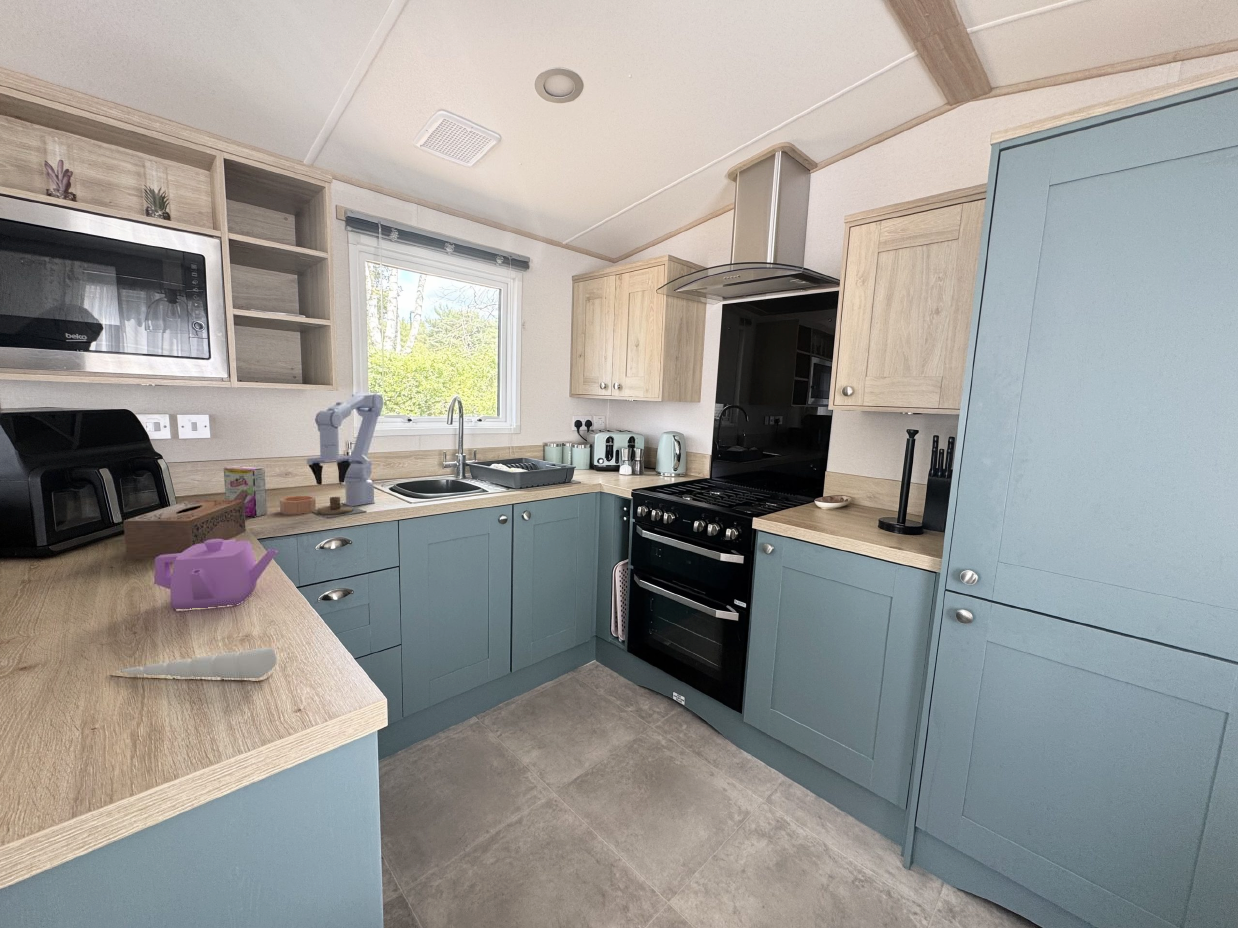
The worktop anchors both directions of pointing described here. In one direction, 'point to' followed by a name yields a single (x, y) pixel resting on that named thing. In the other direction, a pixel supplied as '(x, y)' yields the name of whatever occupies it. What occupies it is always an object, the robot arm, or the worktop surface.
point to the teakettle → (211, 573)
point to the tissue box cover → (183, 527)
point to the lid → (335, 508)
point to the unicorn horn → (215, 665)
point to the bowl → (297, 504)
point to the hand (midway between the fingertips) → (330, 483)
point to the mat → (355, 511)
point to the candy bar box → (246, 488)
